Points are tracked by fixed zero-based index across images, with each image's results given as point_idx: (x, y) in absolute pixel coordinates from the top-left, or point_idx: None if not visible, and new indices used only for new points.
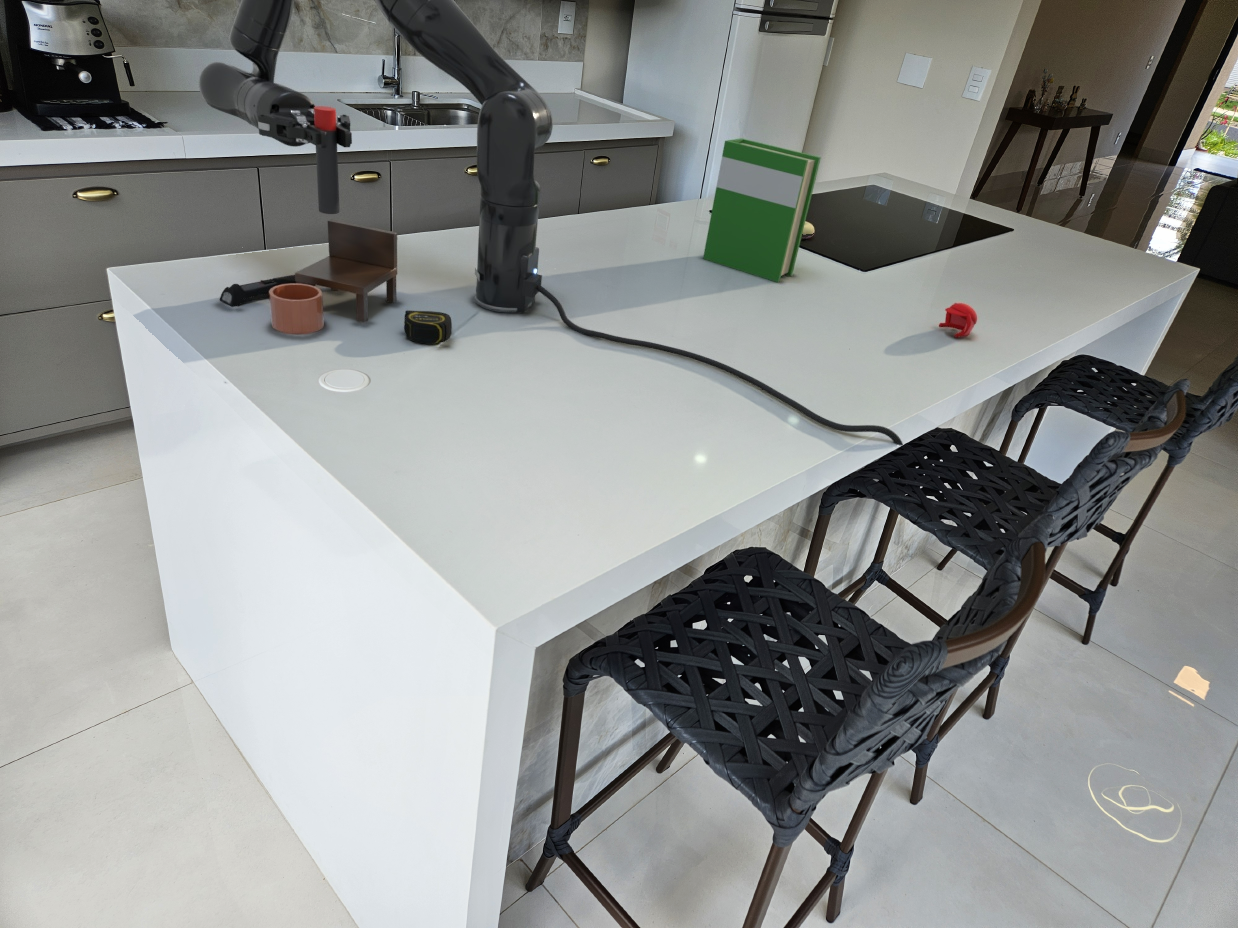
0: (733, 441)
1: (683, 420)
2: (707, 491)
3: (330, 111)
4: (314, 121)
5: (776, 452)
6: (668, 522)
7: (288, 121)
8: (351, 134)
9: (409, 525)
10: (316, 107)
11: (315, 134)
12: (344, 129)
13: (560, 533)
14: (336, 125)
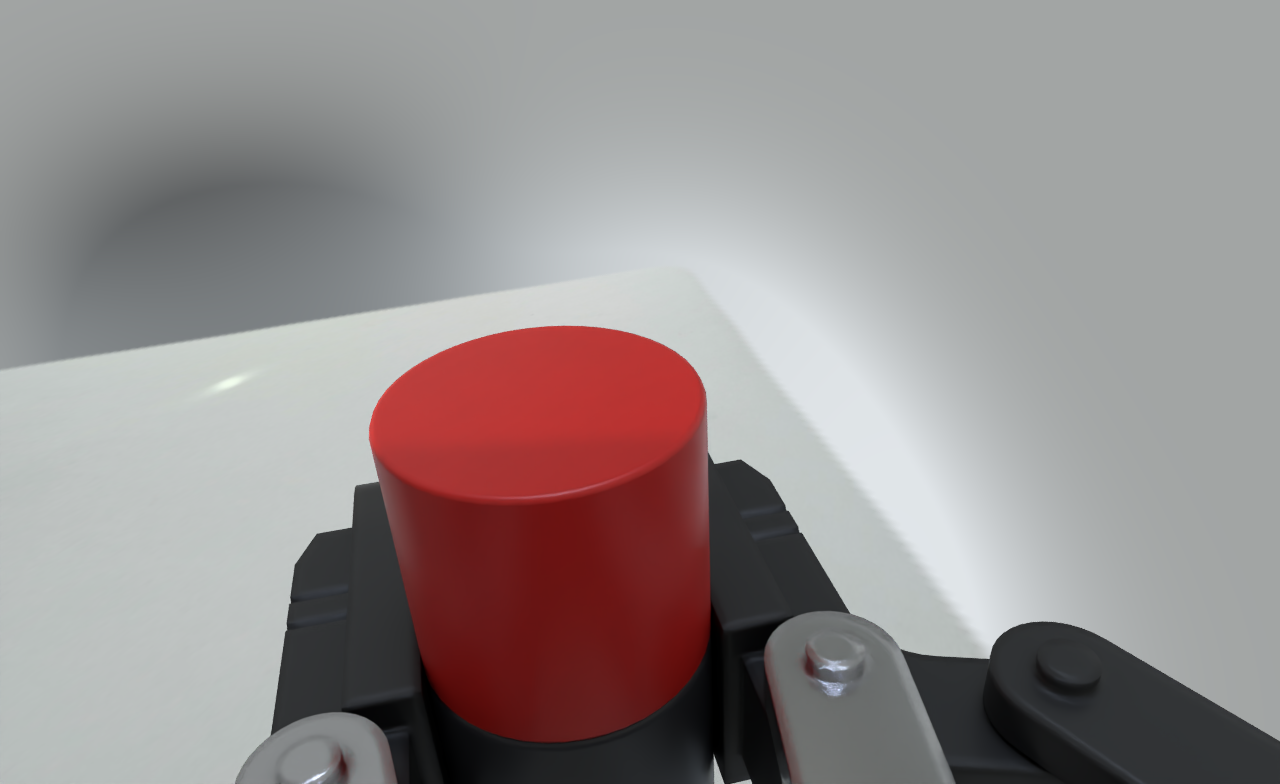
0: (122, 404)
1: (123, 455)
2: (303, 340)
3: (508, 336)
4: (709, 559)
5: (97, 378)
6: (410, 314)
7: (1099, 658)
8: (319, 546)
9: (727, 345)
10: (660, 405)
11: (741, 469)
12: (381, 512)
13: (551, 318)
14: (363, 690)
